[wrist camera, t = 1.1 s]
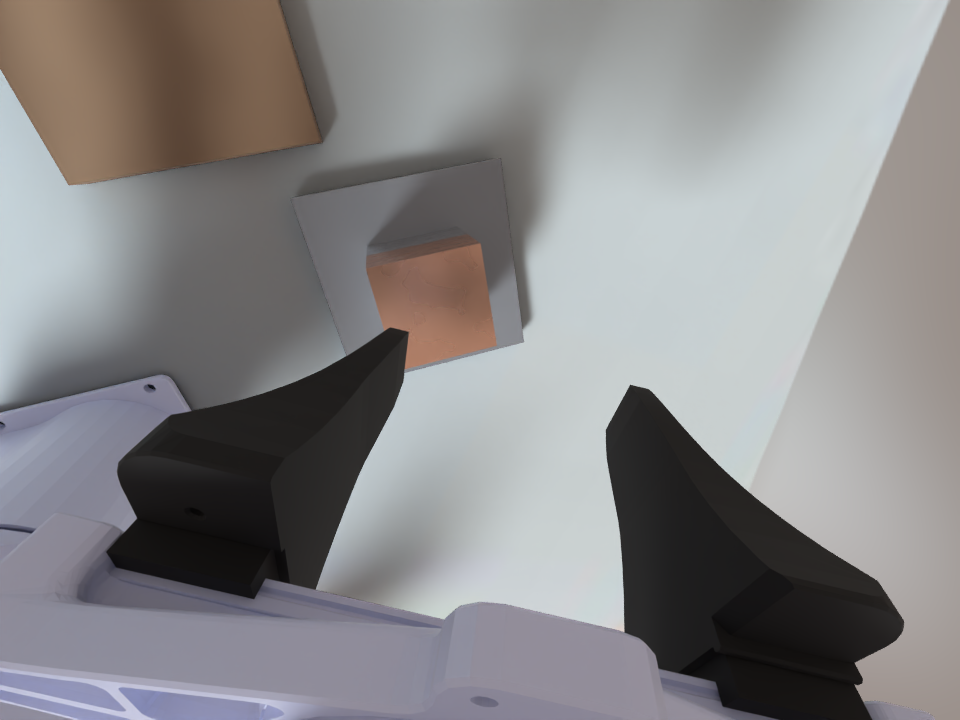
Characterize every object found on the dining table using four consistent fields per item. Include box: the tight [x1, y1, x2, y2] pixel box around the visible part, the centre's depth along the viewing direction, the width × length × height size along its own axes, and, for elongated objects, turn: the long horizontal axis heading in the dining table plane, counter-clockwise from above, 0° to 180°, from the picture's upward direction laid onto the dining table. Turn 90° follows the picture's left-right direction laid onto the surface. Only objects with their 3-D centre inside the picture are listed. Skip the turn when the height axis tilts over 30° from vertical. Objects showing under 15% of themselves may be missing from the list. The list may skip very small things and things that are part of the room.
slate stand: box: [291, 158, 524, 373], centre depth 22 cm, size 10×10×1 cm
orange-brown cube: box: [366, 227, 497, 369], centre depth 19 cm, size 5×5×5 cm
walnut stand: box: [0, 0, 323, 185], centre depth 15 cm, size 10×10×1 cm
